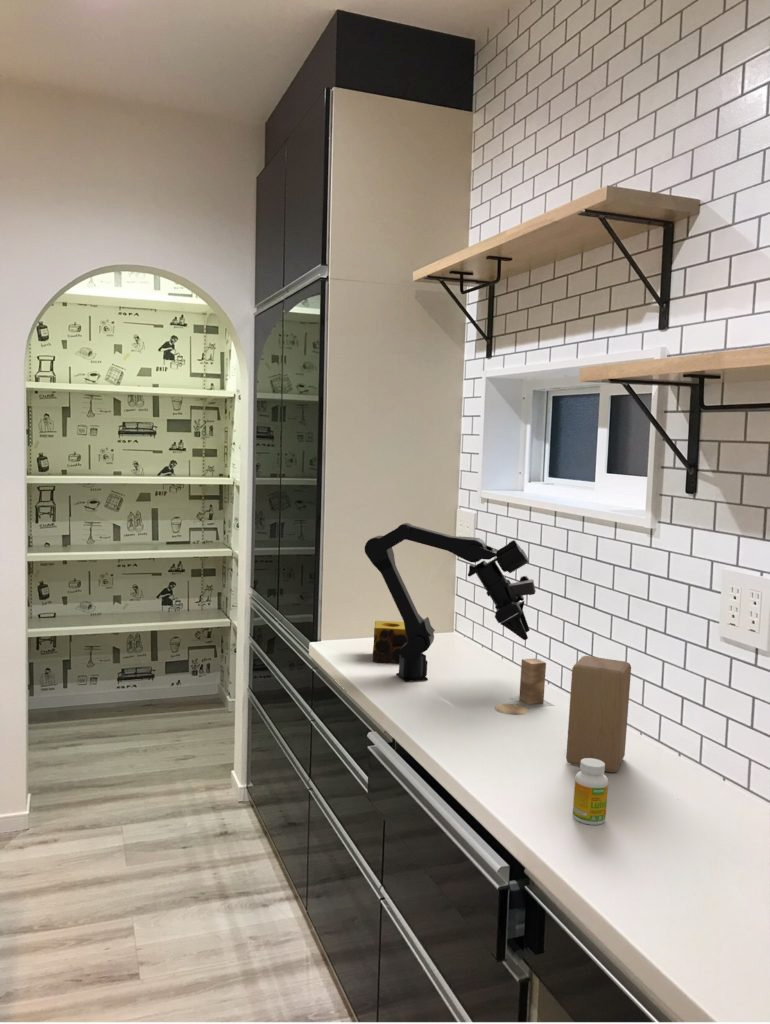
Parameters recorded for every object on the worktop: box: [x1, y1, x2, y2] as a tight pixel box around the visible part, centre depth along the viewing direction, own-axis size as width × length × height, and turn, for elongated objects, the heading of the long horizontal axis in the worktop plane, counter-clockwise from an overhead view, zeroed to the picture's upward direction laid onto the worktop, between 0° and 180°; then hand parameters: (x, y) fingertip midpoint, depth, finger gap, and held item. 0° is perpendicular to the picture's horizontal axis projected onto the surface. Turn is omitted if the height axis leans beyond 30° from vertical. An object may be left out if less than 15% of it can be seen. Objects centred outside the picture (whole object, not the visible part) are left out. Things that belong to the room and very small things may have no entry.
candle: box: [372, 620, 408, 665], centre depth 236 cm, size 10×10×10 cm
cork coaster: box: [494, 703, 529, 716], centre depth 195 cm, size 8×8×1 cm
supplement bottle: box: [572, 758, 609, 826], centre depth 140 cm, size 5×5×10 cm
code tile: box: [508, 696, 555, 709], centre depth 202 cm, size 8×8×1 cm
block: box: [565, 655, 632, 774], centre depth 165 cm, size 10×10×20 cm
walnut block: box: [518, 657, 547, 705], centre depth 202 cm, size 4×4×10 cm
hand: (527, 635), depth 211 cm, fingers open, 9 cm apart
